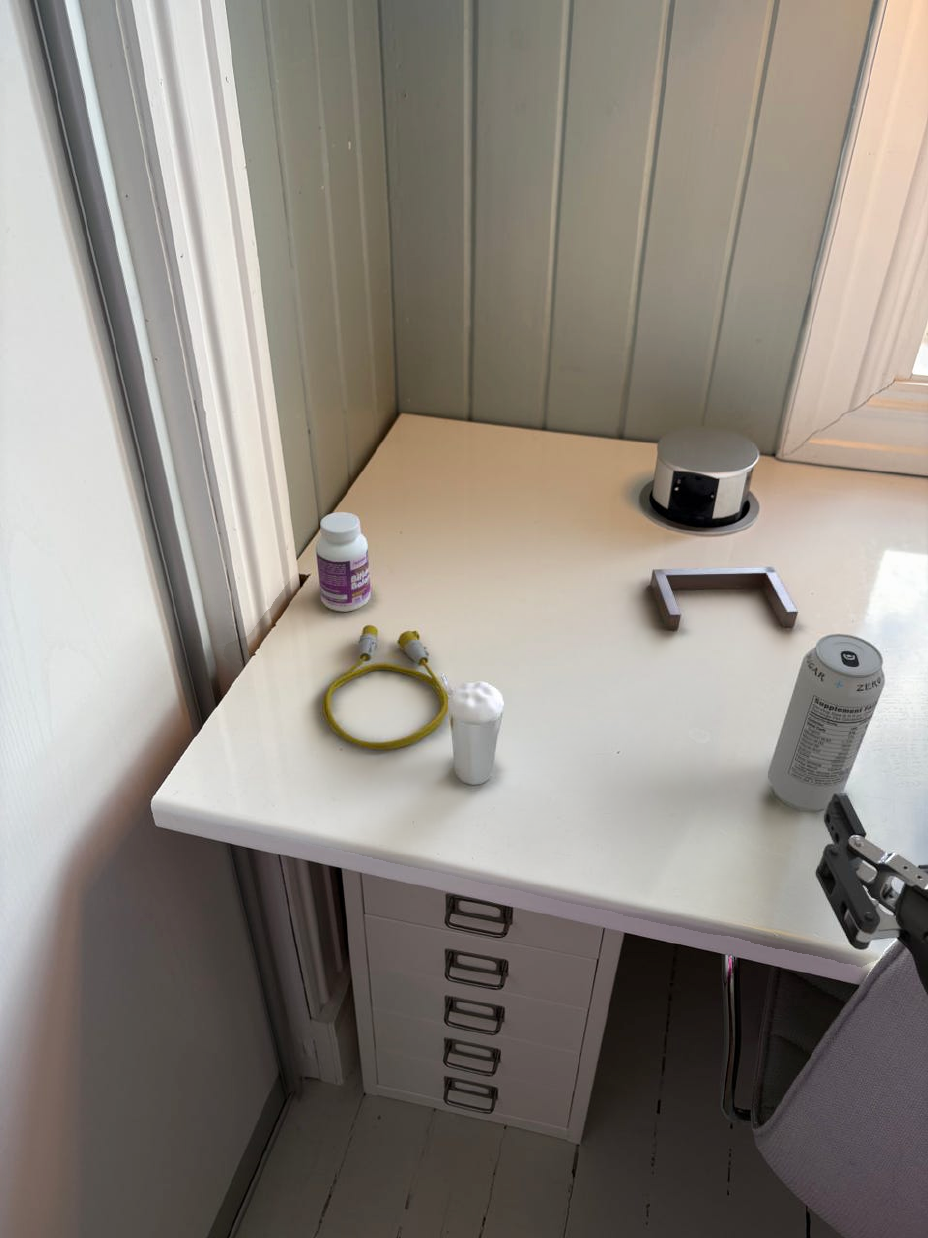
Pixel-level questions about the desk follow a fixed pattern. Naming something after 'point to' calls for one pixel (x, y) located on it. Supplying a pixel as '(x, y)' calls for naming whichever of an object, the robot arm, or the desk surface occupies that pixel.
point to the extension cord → (413, 650)
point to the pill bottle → (343, 563)
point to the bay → (720, 579)
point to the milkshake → (474, 729)
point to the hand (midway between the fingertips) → (896, 799)
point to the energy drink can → (826, 721)
